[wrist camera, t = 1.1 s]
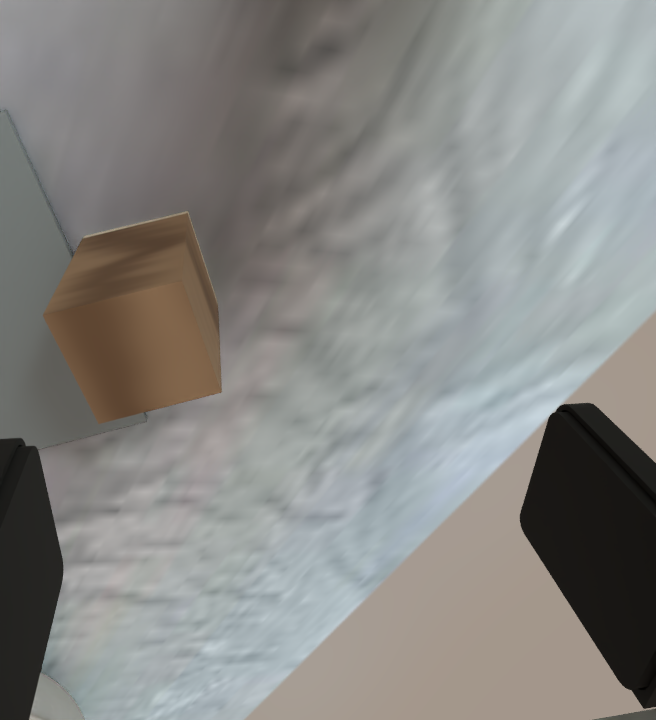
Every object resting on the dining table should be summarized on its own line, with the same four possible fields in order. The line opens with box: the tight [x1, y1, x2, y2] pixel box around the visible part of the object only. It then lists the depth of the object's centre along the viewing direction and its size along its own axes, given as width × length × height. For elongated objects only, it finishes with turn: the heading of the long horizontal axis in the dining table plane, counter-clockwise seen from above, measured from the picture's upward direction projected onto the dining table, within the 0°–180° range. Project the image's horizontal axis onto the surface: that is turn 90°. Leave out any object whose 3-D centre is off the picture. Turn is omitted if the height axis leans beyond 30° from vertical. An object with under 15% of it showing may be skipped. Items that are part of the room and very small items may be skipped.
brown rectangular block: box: [43, 211, 222, 424], centre depth 31 cm, size 6×6×10 cm
